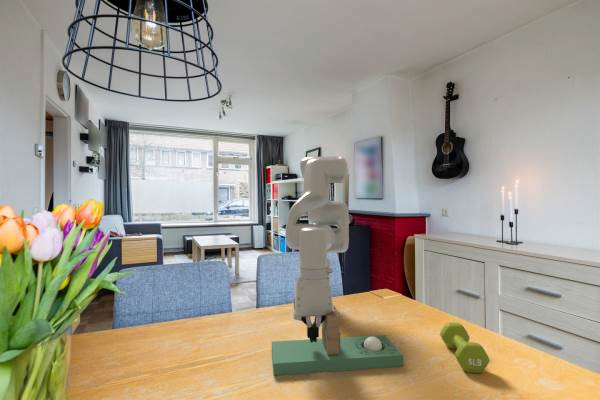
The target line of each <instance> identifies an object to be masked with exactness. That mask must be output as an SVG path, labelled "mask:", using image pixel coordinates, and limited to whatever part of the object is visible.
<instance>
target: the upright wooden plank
mask: <svg viewBox="0 0 600 400" xmlns="http://www.w3.org/2000/svg"><path fill="white" fill-rule="evenodd" d="M340 338H341V331H340V315H339V313H338V312H337V310H336V309H335V307H334V308H333V306H332V313H330V314H326V316H325V320H324V321H323V322H322V323H321V339H322V342H323V345H324V347H325V349H326V352H327V354H328V355H333V354H339V352H340Z"/></svg>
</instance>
